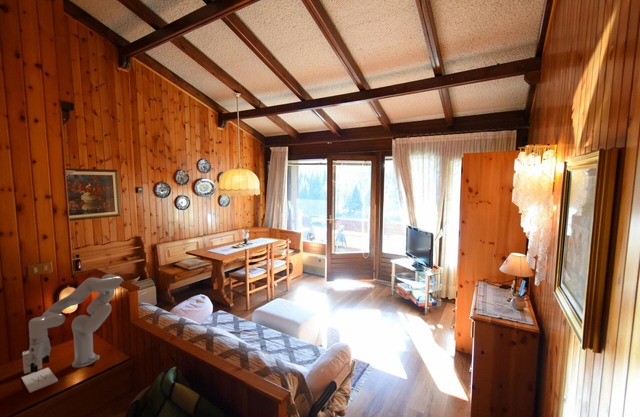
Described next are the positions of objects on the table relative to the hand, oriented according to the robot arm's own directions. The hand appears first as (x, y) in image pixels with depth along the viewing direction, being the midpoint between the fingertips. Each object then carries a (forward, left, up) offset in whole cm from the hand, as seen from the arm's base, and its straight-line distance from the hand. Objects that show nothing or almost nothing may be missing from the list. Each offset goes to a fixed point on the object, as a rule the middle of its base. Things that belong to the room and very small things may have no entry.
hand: (40, 367), depth 171 cm
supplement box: (+14, -14, -10) cm, 22 cm away
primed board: (+2, -3, -9) cm, 10 cm away
